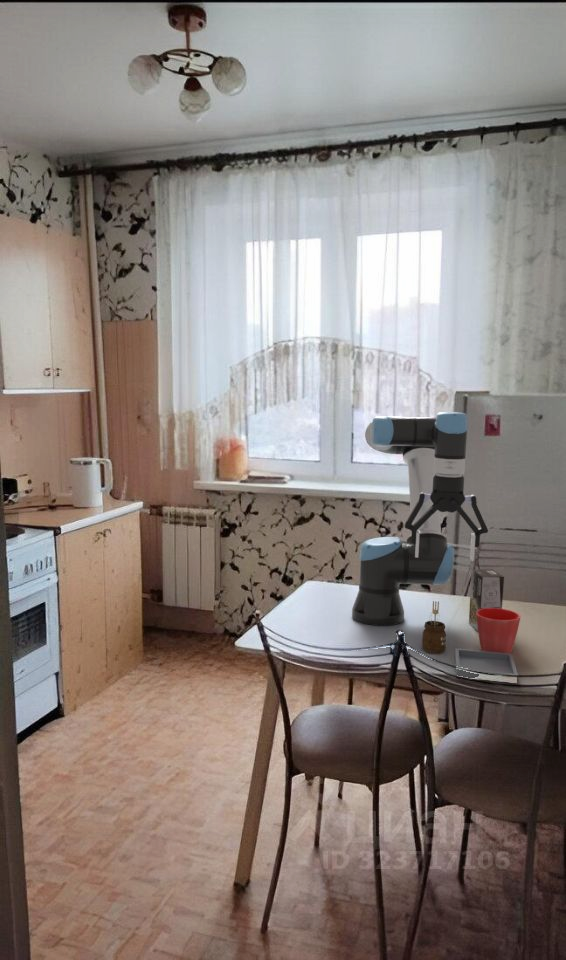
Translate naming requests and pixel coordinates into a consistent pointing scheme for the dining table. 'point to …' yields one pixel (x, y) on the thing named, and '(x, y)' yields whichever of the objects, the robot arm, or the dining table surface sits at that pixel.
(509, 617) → the flower pot
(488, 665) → the tray
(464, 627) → the dining table surface
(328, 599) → the dining table surface
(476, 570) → the coffee box
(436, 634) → the utensil holder
